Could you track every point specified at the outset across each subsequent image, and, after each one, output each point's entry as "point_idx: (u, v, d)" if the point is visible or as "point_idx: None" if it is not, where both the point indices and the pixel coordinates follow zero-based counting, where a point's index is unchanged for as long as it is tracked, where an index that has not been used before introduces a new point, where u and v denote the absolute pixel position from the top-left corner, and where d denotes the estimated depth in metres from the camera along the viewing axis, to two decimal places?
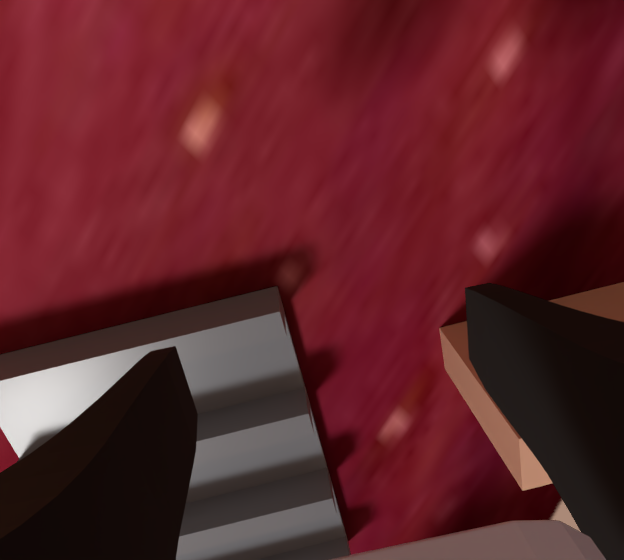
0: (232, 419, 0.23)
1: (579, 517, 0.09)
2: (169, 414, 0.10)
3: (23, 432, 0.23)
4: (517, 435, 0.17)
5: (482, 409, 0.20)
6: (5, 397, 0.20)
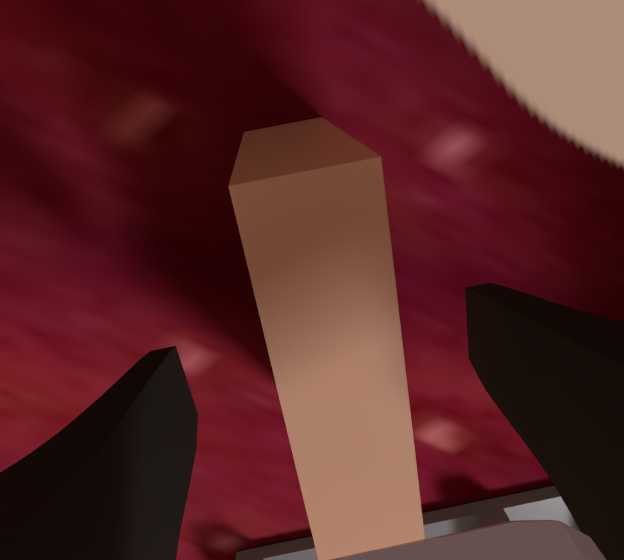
0: None
1: (579, 517, 0.09)
2: (169, 414, 0.10)
3: None
4: None
5: None
6: None
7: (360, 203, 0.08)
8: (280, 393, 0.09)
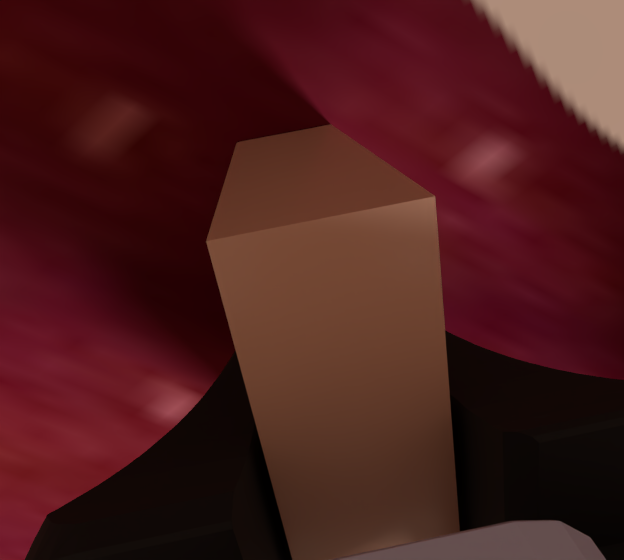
0: None
1: None
2: None
3: None
4: None
5: None
6: None
7: (403, 262, 0.05)
8: (283, 516, 0.07)
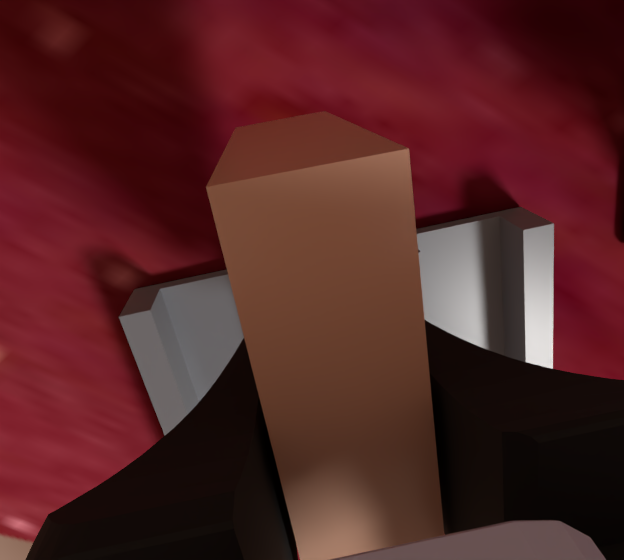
0: None
1: None
2: None
3: None
4: None
5: None
6: None
7: (381, 210, 0.06)
8: (275, 450, 0.07)
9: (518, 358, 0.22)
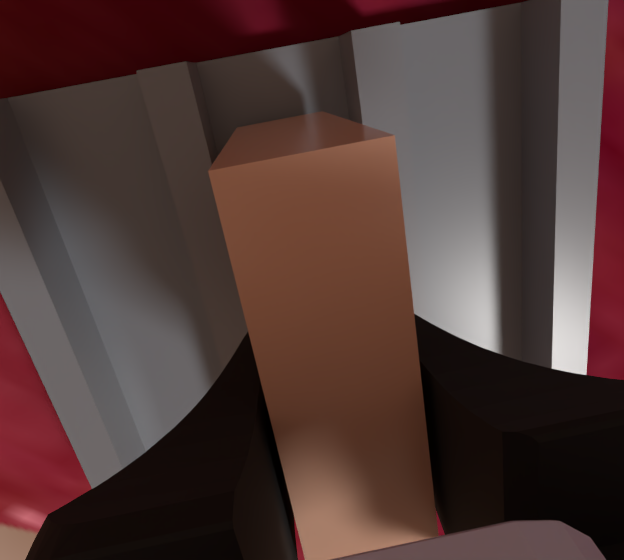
0: None
1: None
2: None
3: None
4: None
5: None
6: (112, 475, 0.16)
7: (370, 193, 0.07)
8: (273, 423, 0.08)
9: (543, 227, 0.15)
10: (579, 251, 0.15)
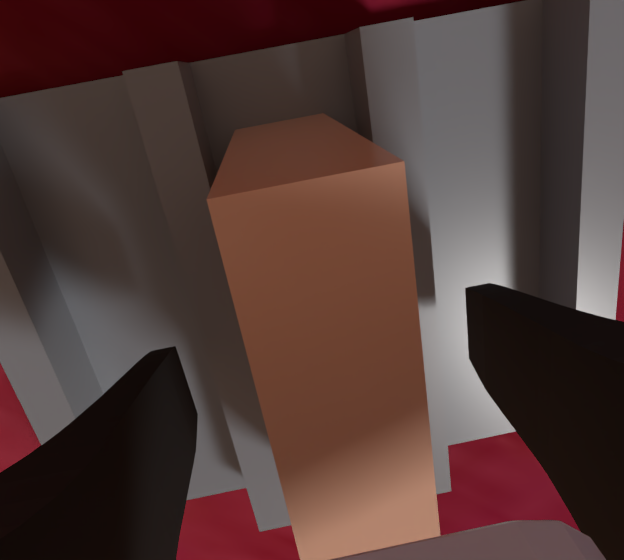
0: None
1: (579, 517, 0.09)
2: (169, 414, 0.10)
3: (217, 475, 0.18)
4: None
5: None
6: None
7: (377, 220, 0.06)
8: (275, 453, 0.07)
9: (565, 240, 0.14)
10: (604, 266, 0.14)
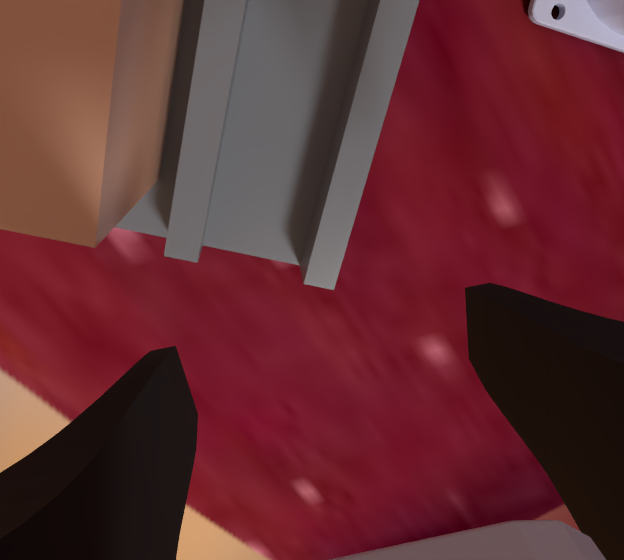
0: None
1: (580, 518, 0.09)
2: (169, 414, 0.10)
3: None
4: None
5: None
6: None
7: None
8: None
9: (358, 68, 0.17)
10: (376, 97, 0.17)
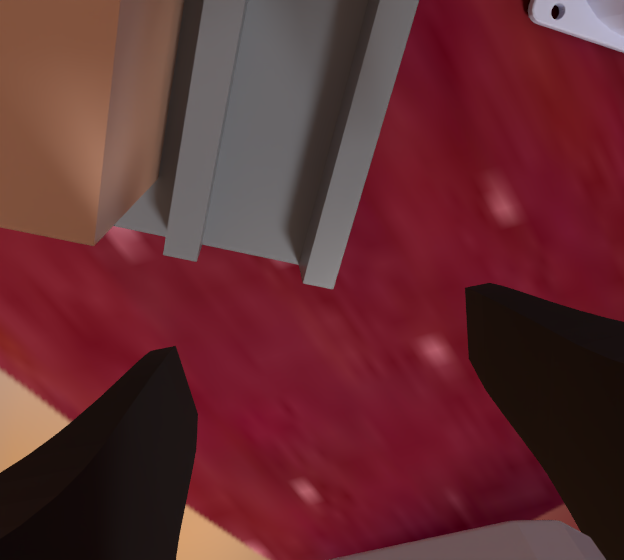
0: None
1: (580, 517, 0.09)
2: (169, 414, 0.10)
3: None
4: None
5: None
6: None
7: None
8: None
9: (357, 67, 0.17)
10: (376, 96, 0.17)
